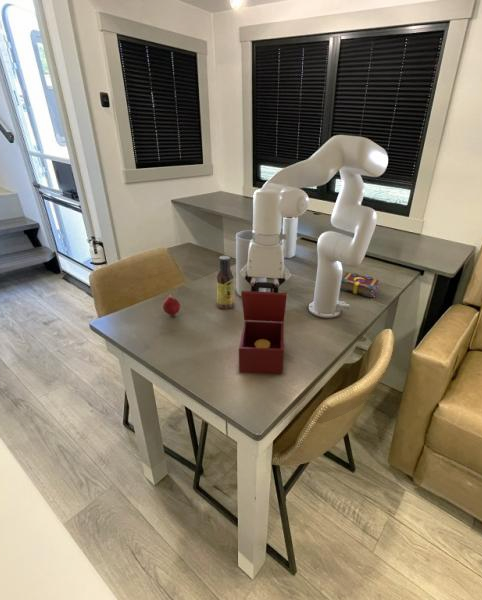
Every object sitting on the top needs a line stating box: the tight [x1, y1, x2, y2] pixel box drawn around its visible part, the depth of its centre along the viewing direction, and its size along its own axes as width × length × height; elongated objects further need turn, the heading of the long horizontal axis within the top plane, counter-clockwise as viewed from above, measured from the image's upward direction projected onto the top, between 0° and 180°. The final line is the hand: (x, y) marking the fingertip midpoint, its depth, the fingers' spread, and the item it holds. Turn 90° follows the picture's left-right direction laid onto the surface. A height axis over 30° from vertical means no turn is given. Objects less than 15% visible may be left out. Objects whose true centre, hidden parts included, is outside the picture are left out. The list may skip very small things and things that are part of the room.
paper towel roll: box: [282, 216, 299, 259], centre depth 173 cm, size 7×6×21 cm
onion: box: [162, 294, 181, 316], centre depth 119 cm, size 6×6×8 cm
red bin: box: [238, 319, 285, 375], centre depth 101 cm, size 15×13×9 cm
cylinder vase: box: [235, 229, 268, 297], centre depth 134 cm, size 12×12×25 cm
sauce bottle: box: [216, 255, 235, 309], centre depth 124 cm, size 6×6×20 cm
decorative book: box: [340, 271, 380, 299], centre depth 148 cm, size 11×16×5 cm
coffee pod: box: [255, 339, 270, 348], centre depth 101 cm, size 5×5×4 cm
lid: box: [241, 281, 288, 323], centre depth 99 cm, size 16×13×6 cm
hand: (264, 296), depth 97 cm, fingers closed on lid, 5 cm apart
